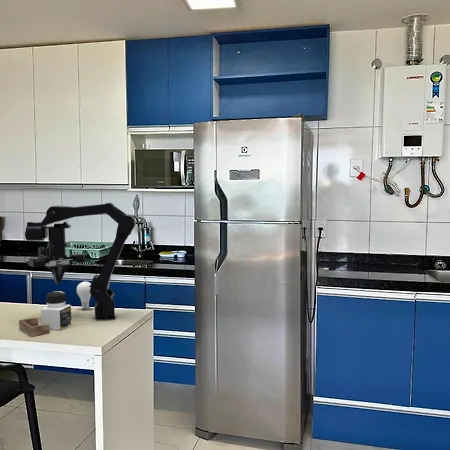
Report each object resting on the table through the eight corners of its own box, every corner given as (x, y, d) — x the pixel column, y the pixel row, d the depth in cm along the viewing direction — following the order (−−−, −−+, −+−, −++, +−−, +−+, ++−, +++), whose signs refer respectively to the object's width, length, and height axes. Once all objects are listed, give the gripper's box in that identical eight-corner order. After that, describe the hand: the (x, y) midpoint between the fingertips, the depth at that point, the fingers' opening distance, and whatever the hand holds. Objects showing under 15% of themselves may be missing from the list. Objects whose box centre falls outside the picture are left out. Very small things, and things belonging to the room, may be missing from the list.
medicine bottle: (60, 330, 158) (59, 295, 157) (41, 329, 159) (40, 294, 159) (71, 324, 165) (70, 290, 164) (53, 323, 166) (52, 289, 166)
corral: (37, 325, 164) (37, 317, 164) (49, 333, 155) (49, 324, 155) (19, 328, 160) (19, 320, 160) (30, 336, 151) (30, 327, 151)
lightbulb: (76, 308, 188) (75, 280, 188) (92, 306, 191) (92, 279, 190) (77, 311, 183) (77, 283, 182) (94, 310, 185) (94, 282, 184)
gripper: (73, 237, 182) (74, 277, 183) (22, 240, 170) (24, 283, 171) (85, 239, 174) (86, 281, 175) (33, 243, 162) (34, 288, 163)
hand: (58, 283), depth 171 cm, fingers closed
